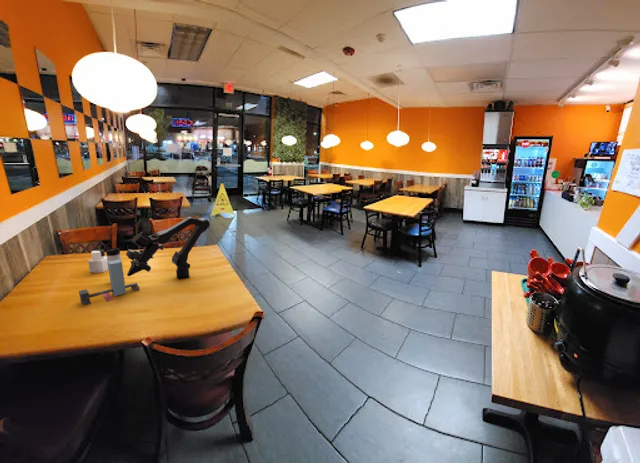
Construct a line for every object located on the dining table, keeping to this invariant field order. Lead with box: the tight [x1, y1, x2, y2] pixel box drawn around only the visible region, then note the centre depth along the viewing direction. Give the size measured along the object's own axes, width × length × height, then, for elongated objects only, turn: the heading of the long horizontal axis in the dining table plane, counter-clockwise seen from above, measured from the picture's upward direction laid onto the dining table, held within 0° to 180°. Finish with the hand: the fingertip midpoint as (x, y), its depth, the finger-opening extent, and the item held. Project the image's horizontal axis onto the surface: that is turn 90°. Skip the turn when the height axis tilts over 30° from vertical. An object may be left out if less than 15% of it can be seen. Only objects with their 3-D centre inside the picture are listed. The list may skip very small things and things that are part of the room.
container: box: [87, 248, 109, 274], centre depth 177 cm, size 8×8×13 cm
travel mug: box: [105, 247, 122, 262], centre depth 162 cm, size 6×7×20 cm
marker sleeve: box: [108, 260, 127, 297], centre depth 149 cm, size 5×5×18 cm
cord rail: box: [78, 282, 140, 307], centre depth 148 cm, size 24×10×6 cm, turn 138°
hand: (127, 275), depth 153 cm, fingers closed
